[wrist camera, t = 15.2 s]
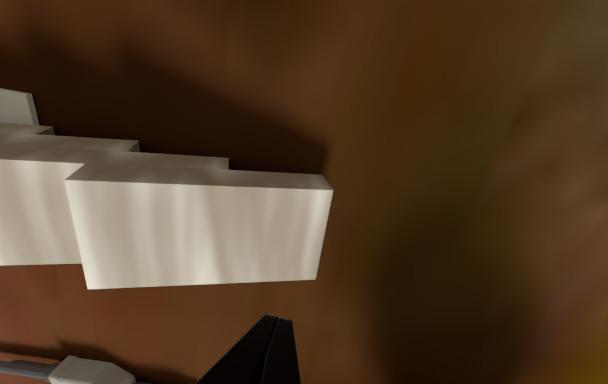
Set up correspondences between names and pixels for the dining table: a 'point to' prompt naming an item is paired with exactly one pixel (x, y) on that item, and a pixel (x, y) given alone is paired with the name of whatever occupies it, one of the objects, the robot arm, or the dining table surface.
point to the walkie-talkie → (71, 371)
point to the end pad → (17, 108)
